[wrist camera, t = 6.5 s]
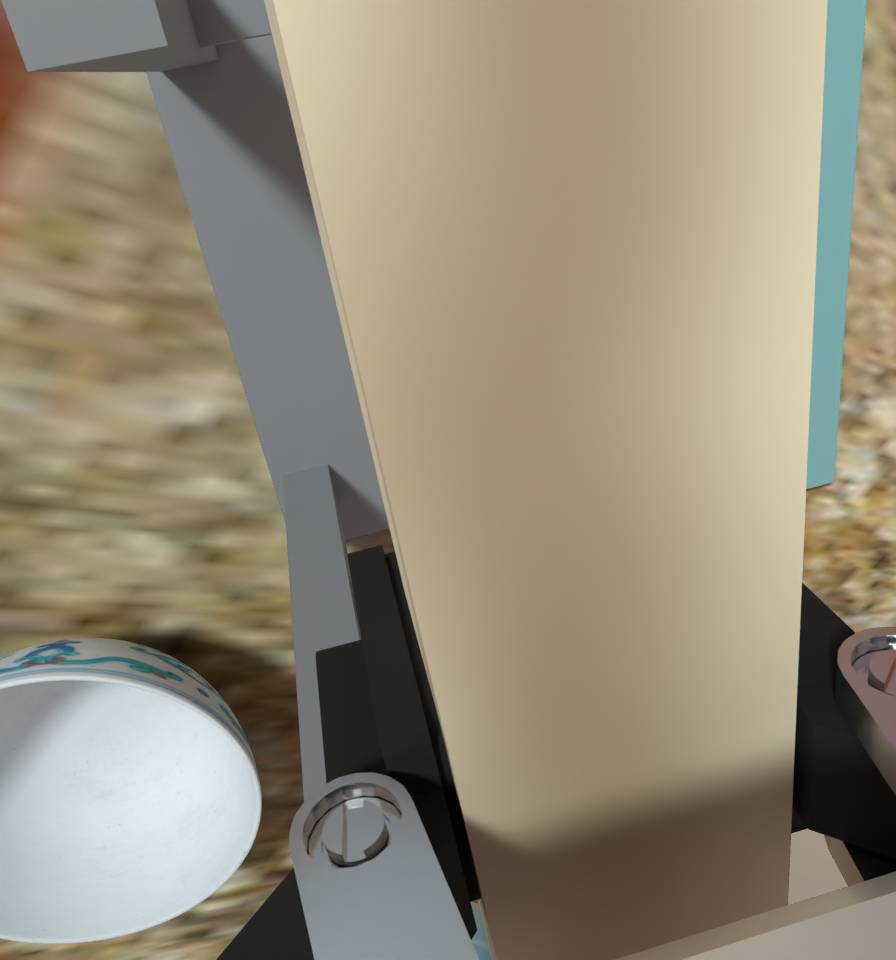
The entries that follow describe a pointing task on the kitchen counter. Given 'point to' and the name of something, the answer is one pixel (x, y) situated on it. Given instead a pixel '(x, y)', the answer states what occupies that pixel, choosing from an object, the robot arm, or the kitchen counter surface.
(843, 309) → the mat
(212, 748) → the chinaware
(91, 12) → the rack
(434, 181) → the rail
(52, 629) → the kitchen counter surface
